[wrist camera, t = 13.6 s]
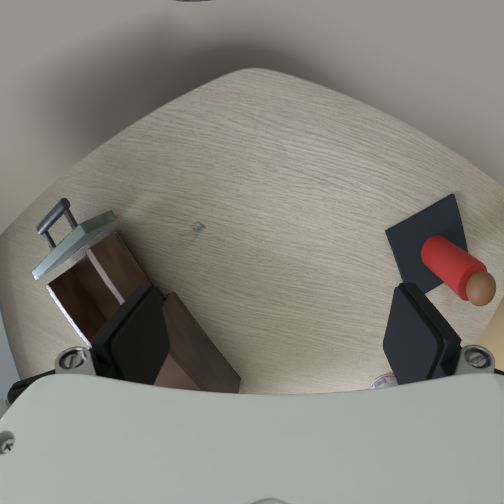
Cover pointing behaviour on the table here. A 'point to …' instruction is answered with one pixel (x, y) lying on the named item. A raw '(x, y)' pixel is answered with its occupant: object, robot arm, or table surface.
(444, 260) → the red cylinder
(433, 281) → the coaster
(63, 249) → the drawer
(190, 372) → the cabinet
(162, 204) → the table surface
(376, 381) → the pill bottle
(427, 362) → the robot arm
